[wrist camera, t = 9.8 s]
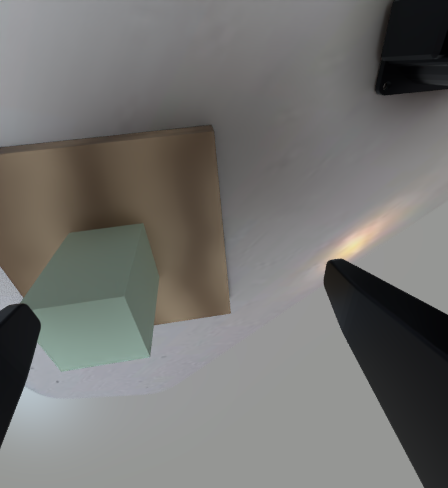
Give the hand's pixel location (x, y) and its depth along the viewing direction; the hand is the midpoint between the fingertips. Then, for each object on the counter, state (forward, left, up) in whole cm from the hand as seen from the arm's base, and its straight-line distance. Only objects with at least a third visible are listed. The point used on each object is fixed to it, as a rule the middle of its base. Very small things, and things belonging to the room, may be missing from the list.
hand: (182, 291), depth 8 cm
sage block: (+6, +6, -10) cm, 13 cm away
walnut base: (+6, +6, -12) cm, 15 cm away
